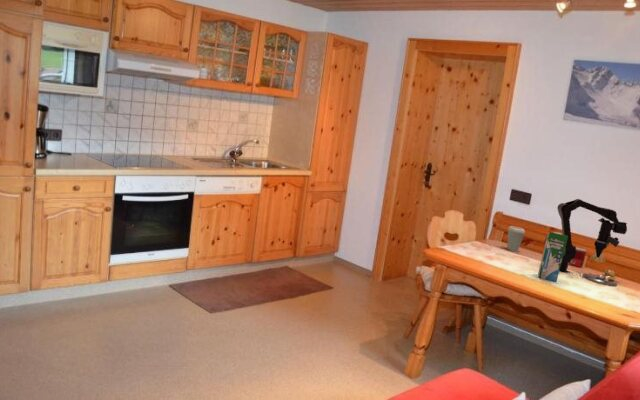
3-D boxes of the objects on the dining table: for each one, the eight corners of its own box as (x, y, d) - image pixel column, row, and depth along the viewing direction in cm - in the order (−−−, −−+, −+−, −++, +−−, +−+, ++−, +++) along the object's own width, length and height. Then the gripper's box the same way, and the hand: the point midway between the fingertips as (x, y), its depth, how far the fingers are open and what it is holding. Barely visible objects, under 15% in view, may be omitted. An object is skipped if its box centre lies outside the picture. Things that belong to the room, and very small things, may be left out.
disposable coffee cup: (522, 253, 363) (528, 230, 361) (506, 250, 363) (511, 227, 361) (517, 249, 374) (522, 227, 371) (501, 246, 373) (506, 224, 371)
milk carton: (555, 278, 306) (566, 233, 302) (556, 282, 297) (568, 235, 294) (537, 274, 309) (548, 229, 305) (538, 277, 300) (549, 231, 297)
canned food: (583, 268, 351) (587, 251, 349) (569, 265, 352) (574, 248, 350) (580, 265, 358) (584, 249, 356) (567, 262, 359) (571, 246, 358)
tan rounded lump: (603, 263, 324) (605, 254, 323) (589, 259, 327) (591, 251, 327) (604, 261, 330) (607, 253, 329) (591, 258, 334) (593, 249, 333)
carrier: (603, 285, 310) (606, 274, 309) (575, 275, 326) (578, 264, 325) (625, 286, 319) (628, 275, 319) (597, 276, 335) (600, 265, 334)
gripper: (619, 235, 314) (612, 263, 316) (621, 233, 330) (614, 259, 332) (597, 230, 320) (590, 257, 322) (601, 228, 336) (594, 253, 338)
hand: (598, 257), depth 328 cm, fingers closed on tan rounded lump, 5 cm apart
